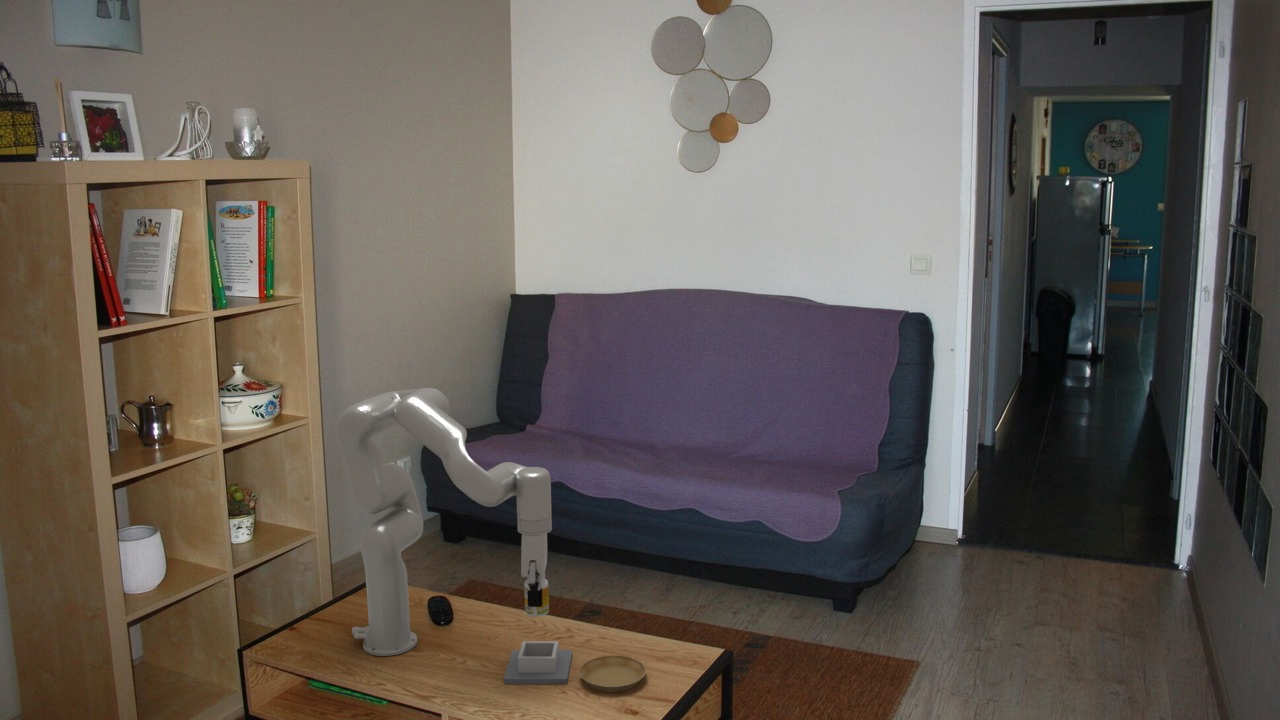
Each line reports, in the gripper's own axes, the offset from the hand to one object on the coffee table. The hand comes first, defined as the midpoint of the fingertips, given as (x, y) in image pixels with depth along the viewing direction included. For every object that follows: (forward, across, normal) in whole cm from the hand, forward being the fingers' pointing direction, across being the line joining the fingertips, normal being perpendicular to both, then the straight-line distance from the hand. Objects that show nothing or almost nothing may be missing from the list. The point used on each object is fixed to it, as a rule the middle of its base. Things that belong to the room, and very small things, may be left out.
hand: (536, 599), depth 230 cm
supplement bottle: (+3, 0, 0) cm, 3 cm away
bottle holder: (+17, 0, 0) cm, 17 cm away
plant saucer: (+17, +5, +17) cm, 25 cm away
